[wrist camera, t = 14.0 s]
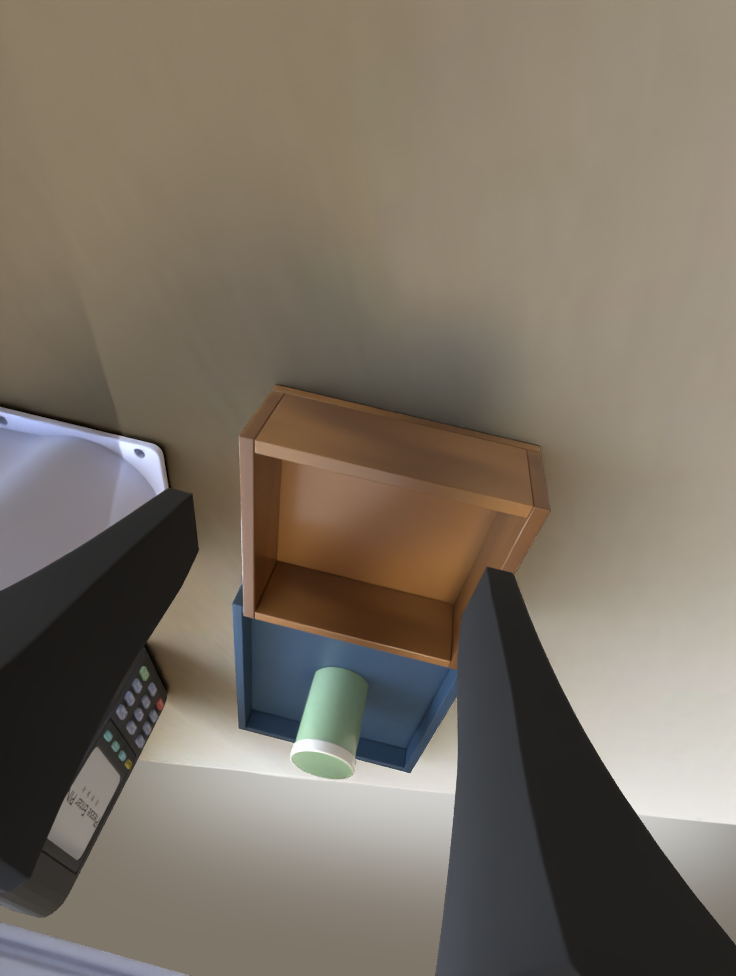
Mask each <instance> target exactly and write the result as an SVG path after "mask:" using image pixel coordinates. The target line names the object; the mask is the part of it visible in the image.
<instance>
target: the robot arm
mask: <svg viewBox="0 0 736 976" xmlns="http://www.w3.org/2000/svg"><path fill="white" fill-rule="evenodd" d="M141 450H142V451H143V452H142V451H141ZM198 551H199V547H198V538H197V529H196V521H195V512H194V503H193V494H191V493H187V492H183V491H179V490H175V489H171V488H169V487H168V481H167V475H166V468H165V462H164V456H163V452H162V450H161V449H160V448H159V447H158V446H157V445H155V444H152V443H148V442H144V441H140V440H136V439H131V438H127V437H123V436H119V435H115V434H111V433H107V432H102V431H98V430H94V429H90V428H86V427H82V426H77V425H73V424H69V423H65V422H61V421H57V420H53V419H48V418H44V417H40V416H36V415H32V414H28V413H23V412H19V411H15V410H11V409H7V408H3V407H0V891H1V892H5V893H8V892H10V891H13V890H14V889H16V888H18V887H19V886H21V885H23V884H24V883H25V882H27V881H28V880H29V879H30V878H31V876H32V873H33V871H34V868H35V866H36V863H37V861H38V858H39V856H40V854H41V851H42V849H43V847H44V844H45V842H46V840H47V837H48V835H49V833H50V830H51V828H52V826H53V823H54V821H55V819H56V816H57V814H58V812H59V809H60V807H61V805H62V803H63V801H64V799H65V796H66V794H67V792H68V790H69V788H70V785H71V783H72V781H73V779H74V777H75V775H76V772H77V770H78V768H79V766H80V764H81V762H82V760H83V758H84V755H85V753H86V751H87V749H88V747H89V745H90V743H91V741H92V739H93V737H94V735H95V733H96V731H97V729H98V727H99V725H100V723H101V721H102V719H103V717H104V715H105V713H106V711H107V709H108V707H109V705H110V703H111V701H112V699H113V697H114V695H115V694H116V692H117V690H118V688H119V686H120V684H121V682H122V680H123V679H124V677H125V675H126V674H127V672H128V670H129V669H130V667H131V665H132V664H133V662H134V661H135V659H136V657H137V656H138V654H139V653H140V651H141V650H142V648H143V647H144V645H145V643H146V642H147V640H148V639H149V637H150V636H151V634H152V633H153V631H154V629H155V628H156V626H157V625H158V623H159V622H160V620H161V619H162V617H163V615H164V614H165V612H166V611H167V609H168V608H169V606H170V604H171V603H172V601H173V600H174V598H175V597H176V595H177V593H178V592H179V590H180V588H181V587H182V585H183V583H184V581H185V579H186V577H187V575H188V573H189V571H190V568H191V566H192V564H193V562H194V560H195V558H196V555H197V553H198ZM457 711H458V764H457V781H456V793H455V807H454V817H453V828H452V838H451V848H450V859H449V868H448V877H447V886H446V894H445V903H444V913H443V920H442V928H441V936H440V943H439V951H438V959H437V966H436V974H435V976H736V945H735V944H734V942H733V941H732V940H731V939H730V938H729V936H728V935H727V934H726V933H725V931H724V930H723V929H722V928H721V926H720V925H719V924H718V923H717V922H716V920H715V919H714V918H713V916H712V915H711V914H710V913H709V912H708V910H707V909H706V908H705V907H704V905H703V904H702V903H701V902H700V900H699V899H698V898H697V897H696V896H695V894H694V893H693V892H692V890H691V889H690V888H689V886H688V885H687V884H686V882H685V881H684V880H683V878H682V877H681V876H680V874H679V873H678V872H677V870H676V869H675V868H674V867H673V865H672V863H671V862H670V861H669V859H668V858H667V857H666V856H665V854H664V853H663V851H662V850H661V849H660V847H659V846H658V845H657V843H656V841H655V840H654V839H653V837H652V836H651V834H650V833H649V831H648V830H647V829H646V827H645V825H644V824H643V823H642V821H641V820H640V818H639V817H638V815H637V814H636V812H635V811H634V809H633V808H632V807H631V805H630V804H629V802H628V801H627V799H626V798H625V796H624V795H623V793H622V792H621V790H620V789H619V787H618V786H617V784H616V783H615V781H614V779H613V778H612V776H611V775H610V773H609V771H608V770H607V768H606V767H605V765H604V763H603V762H602V760H601V759H600V757H599V755H598V753H597V752H596V750H595V748H594V747H593V745H592V743H591V742H590V740H589V738H588V736H587V735H586V733H585V731H584V729H583V728H582V726H581V724H580V722H579V720H578V718H577V717H576V715H575V713H574V711H573V709H572V707H571V705H570V703H569V701H568V699H567V697H566V695H565V693H564V692H563V690H562V688H561V686H560V684H559V681H558V679H557V677H556V675H555V673H554V671H553V669H552V667H551V665H550V662H549V660H548V658H547V656H546V653H545V651H544V649H543V647H542V645H541V642H540V640H539V638H538V635H537V633H536V631H535V628H534V626H533V623H532V621H531V618H530V616H529V613H528V611H527V608H526V606H525V603H524V600H523V598H522V595H521V592H520V590H519V587H518V584H517V581H516V579H515V576H514V575H513V573H511V572H507V571H503V570H499V569H495V568H491V567H486V569H485V571H484V573H483V575H482V577H481V579H480V581H479V583H478V585H477V587H476V589H475V591H474V592H473V594H472V596H471V598H470V600H469V602H468V604H467V606H466V608H465V610H464V612H463V614H462V617H461V626H460V634H459V644H458V654H457ZM0 976H190V975H187V974H183V973H179V972H176V971H172V970H169V969H165V968H162V967H158V966H155V965H151V964H148V963H144V962H140V961H137V960H133V959H130V958H126V957H122V956H119V955H116V954H112V953H109V952H105V951H102V950H98V949H95V948H91V947H87V946H84V945H80V944H77V943H73V942H69V941H66V940H63V939H59V938H56V937H52V936H48V935H45V934H41V933H38V932H34V931H31V930H27V929H24V928H20V927H17V926H13V925H10V924H6V923H2V922H0Z"/></svg>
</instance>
